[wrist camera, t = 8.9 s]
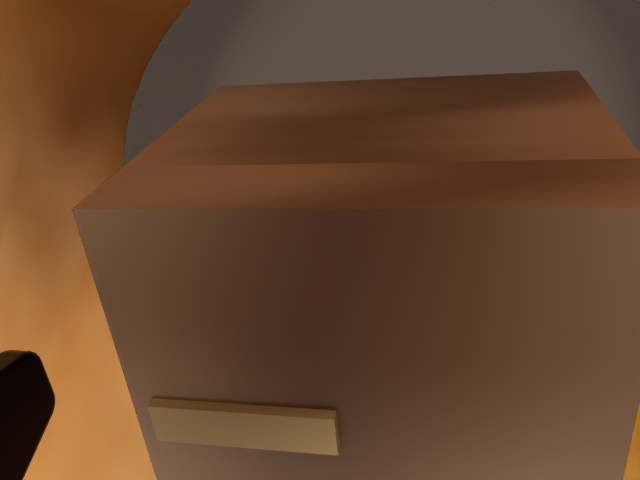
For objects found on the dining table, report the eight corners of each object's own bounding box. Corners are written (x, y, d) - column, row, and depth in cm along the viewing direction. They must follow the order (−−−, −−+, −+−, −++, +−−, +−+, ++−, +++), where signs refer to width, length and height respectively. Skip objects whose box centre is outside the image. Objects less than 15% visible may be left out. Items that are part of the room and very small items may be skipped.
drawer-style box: (577, 70, 10) (684, 215, 5) (545, 364, 13) (598, 619, 8) (220, 86, 11) (64, 215, 6) (265, 351, 14) (178, 565, 9)
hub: (768, -127, 9) (968, -141, 5) (642, 427, 14) (705, 597, 11) (84, -62, 11) (-79, -43, 8) (195, 396, 16) (127, 529, 13)
